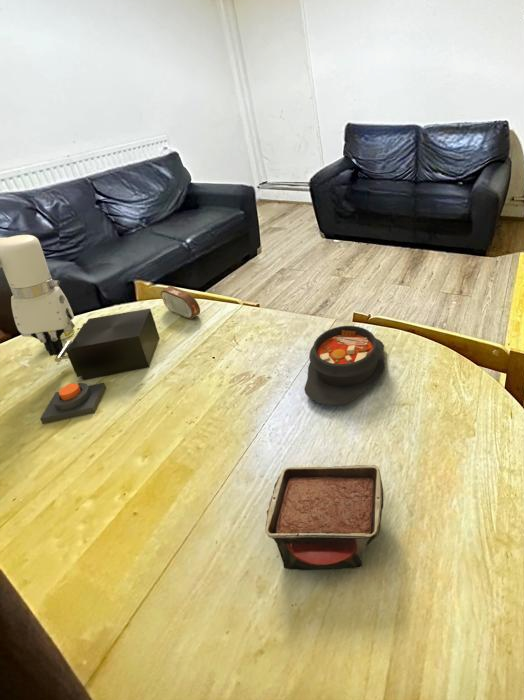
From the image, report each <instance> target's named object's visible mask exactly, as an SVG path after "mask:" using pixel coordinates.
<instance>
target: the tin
mask: <svg viewBox="0 0 524 700" xmlns="http://www.w3.org/2000/svg"><path fill="white" fill-rule="evenodd" d="M160 296H161V300H162V301H163V304H164V306H165V307H166V308H167V309H168V310H169V311H170V312H172V313H174V314H176V315H178V316H180V317H182V318H186V319H187V320H192V319H195V318H196V317H197V316H199V315H200V314H201V307H200V305H199V303H198V301H197V299H196V298H195V297H194V296H193V295H192V293H191V294H190V293H189V292H187V291H184V290H182V289H179V288H177V287H175V286H172V285H169V286H168V287H166V288H164V289H162V290H161V292H160Z"/></svg>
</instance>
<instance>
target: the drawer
mask: <svg viewBox="0 0 524 700" xmlns="http://www.w3.org/2000/svg"><path fill="white" fill-rule="evenodd" d="M85 324H86V323H83V325H82V326H81V328H80V329H79V330H78V332H77V334H76V335H75V336H74V338H73V339H72V340H66V341H65V343H64V344H63V348H62V349H61V350H60V352H59V353H58V355H55V357H54V362H55V363H60V362H62V361H63V360H67V359H68V360H69V361H70V364H71V366H72V368H73V371H74V374H75V375H76V377H77V378H79V377H81V374H80V372H79V370H78V367H77V365H76V363H75V360H74V358H73V356H72V354H71V351H70V349H69V348H70V347H71V345H72V344H73V342H74V341H75V339H76V338H77V336H78V334H79V333H80V331H81V330H82V328H83V327H84V325H85ZM81 378H82V377H81Z"/></svg>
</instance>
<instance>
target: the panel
mask: <svg viewBox="0 0 524 700" xmlns="http://www.w3.org/2000/svg"><path fill="white" fill-rule="evenodd" d="M76 384H78V385H79V388H80V390H81V393H80V394H79V395H78V396H77V397H75V398H73V399H71V400H67V401H63V400H62V399H61V397H60V395H59V391H55V392H54V394H53V396H52V398H51V399H50V401H49V403H48V404H47V406H46V407H45V410H43V413H42V414H41V416H40V418H39V420H40V422H41V424H42V425H45V424H50V423H55V422H60V421H64V420H69V419H70V420H71V419H74V418H78V417H83V416H87V415H88V416H89V415H92V414H95V413H96V411H97V410H98V406H99V405H100V403H101V400H102V398H103V396H104V394H105V391H106V389H107V385H106V384H105V382H100V383H95V384H90V385H88V384H87V383H83V382H78V383H76Z"/></svg>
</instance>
